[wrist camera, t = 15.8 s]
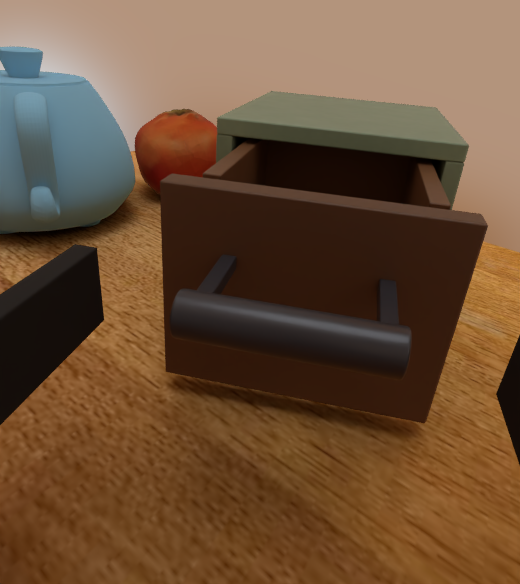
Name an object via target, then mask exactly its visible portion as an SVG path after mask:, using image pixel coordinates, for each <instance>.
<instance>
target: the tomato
mask: <svg viewBox="0 0 520 584" xmlns="http://www.w3.org/2000/svg"><path fill="white" fill-rule="evenodd" d="M216 141H217V127H216V126H215V125H214V124H213V123H211V122H210V121H208V120H207V119H206V118H204V117H203V116H201V115H200V114H198V113H196V112H194V111H192V110H189V109H182V110H172V111H169V112H163V113H162V114H159V115H158V116H157V117H156V118H154V119H153V120H151V121H150V122H148V123H146V124H145V125H144V126H143V127H142V128H140V130H139V131H138V133H137V135H136V138H135V153H136V158H137V162H138V165H139V169H140V172H141V175H142V177H143V179H144V181H145V182H146V183H147V184H148V185H149V186H150V187H151V188H152V189H153V190H154V191H155V192H156V193H158V194H159V195H160V181H161V180H163V179H164V178H166V177H167V176H169V175H170V174H180V175H187V176H195V177H203V173H204V172H205V171H207V170H208V169H209V168H211V167H212V166H213V165H214V164H216Z"/></svg>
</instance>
